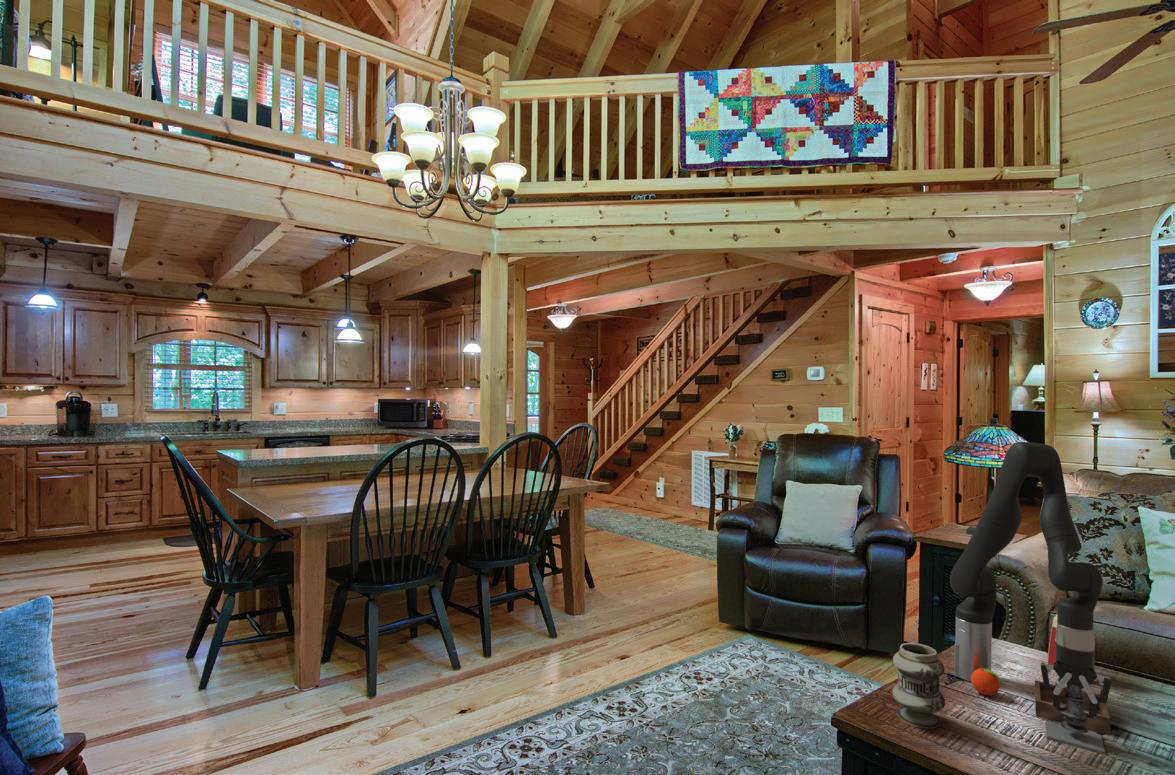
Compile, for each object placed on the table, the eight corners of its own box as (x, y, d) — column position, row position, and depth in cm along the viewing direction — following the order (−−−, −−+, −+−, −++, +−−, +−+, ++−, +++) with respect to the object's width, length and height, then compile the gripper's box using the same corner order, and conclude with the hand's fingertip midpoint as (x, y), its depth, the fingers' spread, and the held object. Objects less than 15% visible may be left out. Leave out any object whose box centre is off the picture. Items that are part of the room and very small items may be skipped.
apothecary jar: (901, 702, 170) (902, 636, 171) (951, 719, 162) (952, 649, 162) (884, 718, 162) (885, 647, 162) (936, 736, 153) (937, 662, 153)
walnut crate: (1035, 716, 164) (1035, 700, 164) (1034, 694, 177) (1034, 680, 177) (1110, 734, 156) (1110, 718, 156) (1103, 710, 168) (1103, 695, 168)
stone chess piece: (1095, 735, 150) (1095, 684, 151) (1067, 732, 152) (1067, 682, 152) (1080, 722, 156) (1081, 674, 156) (1054, 720, 157) (1054, 671, 158)
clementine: (1009, 698, 174) (1009, 672, 174) (996, 703, 171) (996, 677, 171) (978, 686, 181) (979, 661, 181) (965, 691, 178) (966, 666, 178)
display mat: (1046, 738, 153) (1046, 736, 153) (1045, 723, 161) (1045, 721, 161) (1104, 754, 147) (1104, 751, 147) (1100, 737, 154) (1100, 734, 154)
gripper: (1039, 641, 155) (1038, 710, 155) (1114, 656, 147) (1114, 728, 147) (1038, 632, 161) (1037, 698, 161) (1111, 646, 153) (1110, 715, 153)
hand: (1074, 712), depth 154 cm, fingers closed on stone chess piece, 6 cm apart
